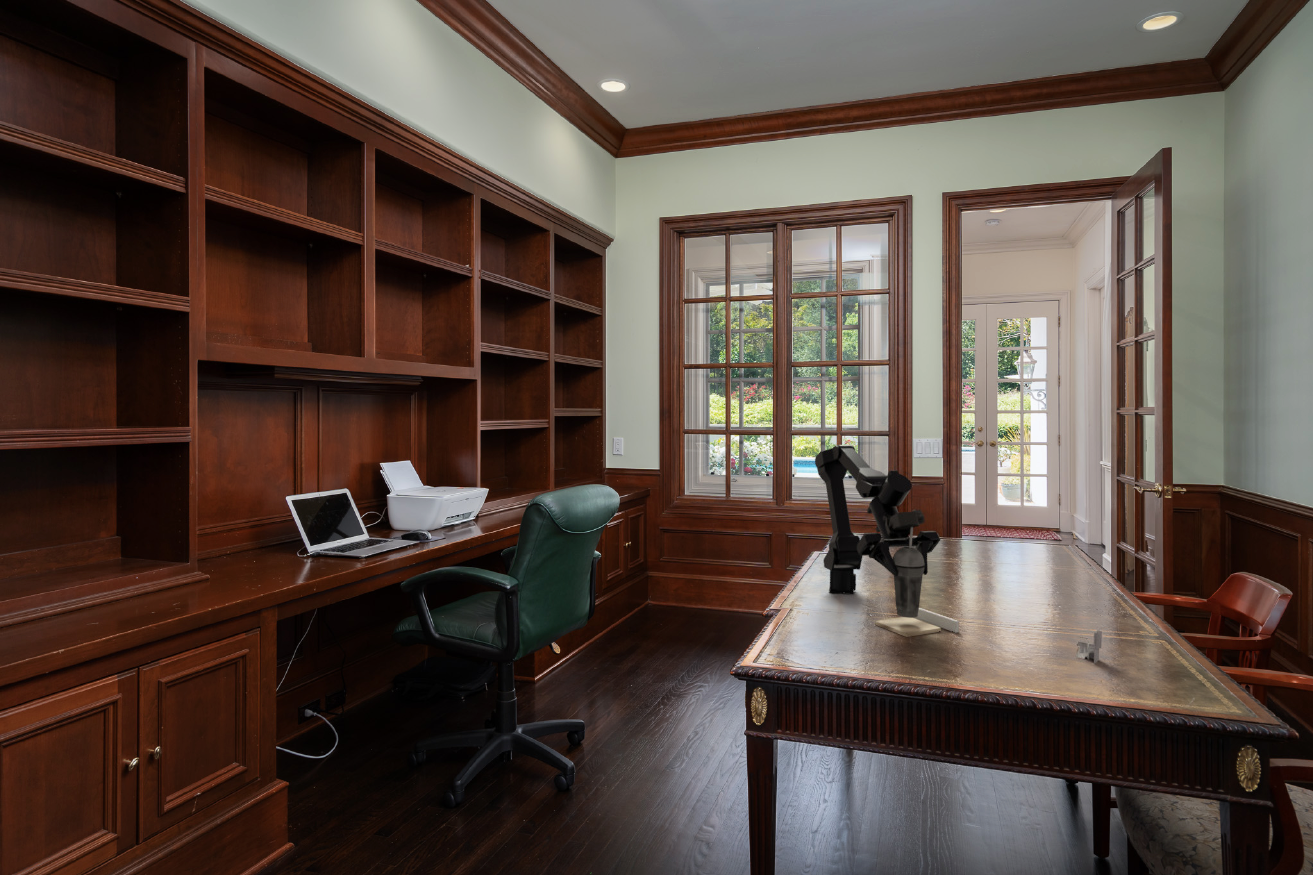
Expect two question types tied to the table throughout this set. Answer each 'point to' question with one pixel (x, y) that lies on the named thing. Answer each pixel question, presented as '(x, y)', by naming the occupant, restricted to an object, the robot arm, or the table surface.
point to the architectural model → (1090, 647)
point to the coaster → (907, 626)
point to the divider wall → (938, 620)
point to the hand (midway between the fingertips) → (911, 574)
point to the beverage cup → (908, 579)
